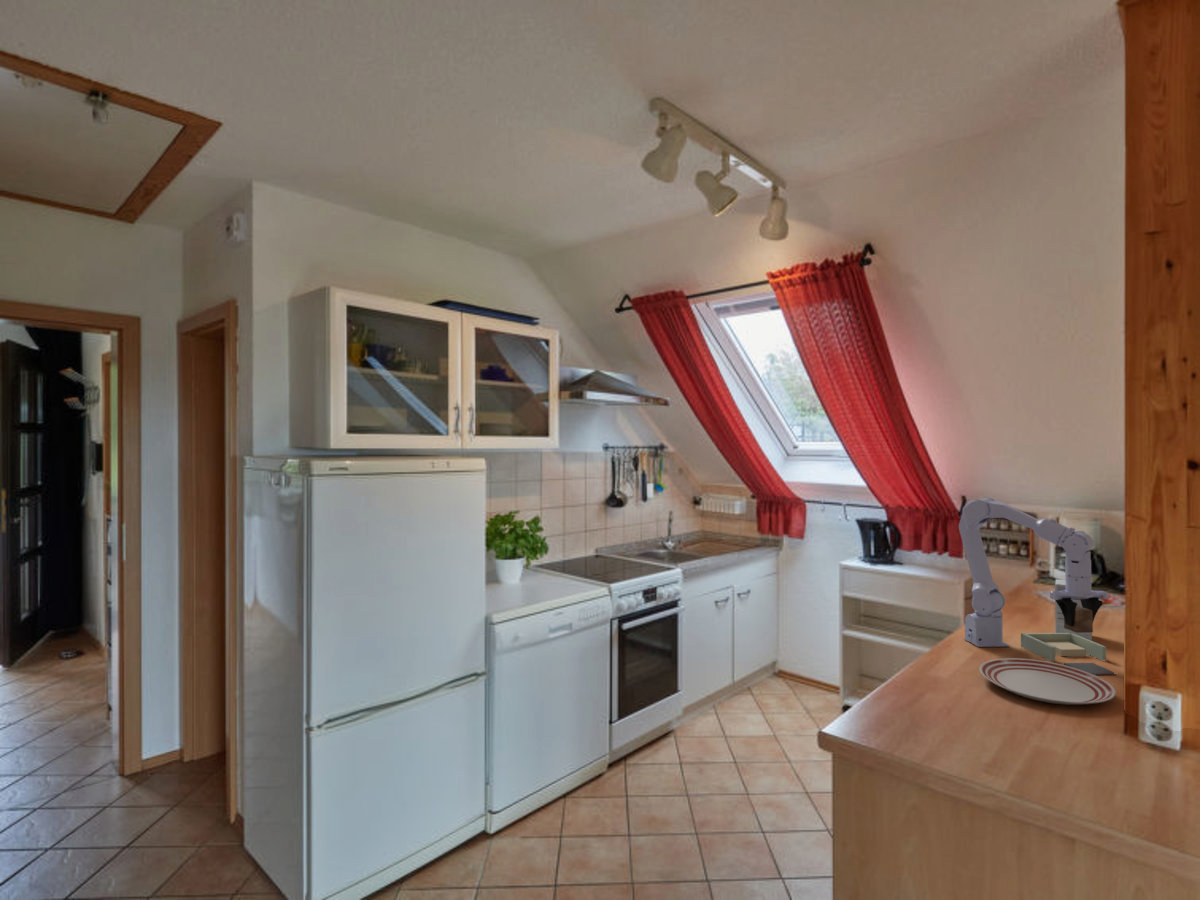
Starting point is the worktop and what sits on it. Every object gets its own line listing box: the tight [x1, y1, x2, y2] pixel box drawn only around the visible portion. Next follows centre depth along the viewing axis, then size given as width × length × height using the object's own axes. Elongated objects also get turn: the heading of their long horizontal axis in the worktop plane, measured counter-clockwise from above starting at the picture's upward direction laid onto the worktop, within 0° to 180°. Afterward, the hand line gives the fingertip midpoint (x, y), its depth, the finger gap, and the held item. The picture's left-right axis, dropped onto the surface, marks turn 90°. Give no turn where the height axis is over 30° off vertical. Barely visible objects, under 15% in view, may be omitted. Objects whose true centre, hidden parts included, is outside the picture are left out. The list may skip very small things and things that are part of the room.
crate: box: [1020, 632, 1107, 663], centre depth 181 cm, size 15×13×4 cm
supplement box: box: [1054, 578, 1093, 641], centre depth 197 cm, size 10×9×17 cm
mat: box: [1063, 662, 1115, 676], centre depth 168 cm, size 8×8×1 cm
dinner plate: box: [979, 657, 1117, 705], centre depth 155 cm, size 28×27×3 cm
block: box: [1064, 607, 1094, 633], centre depth 174 cm, size 4×4×6 cm
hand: (1078, 625), depth 174 cm, fingers closed on block, 4 cm apart
